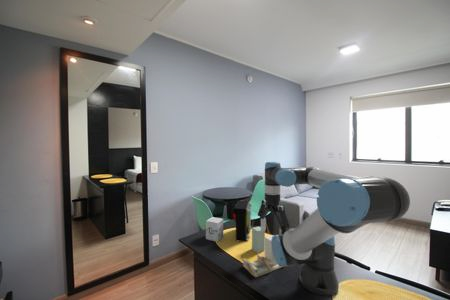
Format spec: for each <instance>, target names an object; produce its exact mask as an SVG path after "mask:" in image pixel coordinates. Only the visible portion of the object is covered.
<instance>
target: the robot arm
mask: <svg viewBox="0 0 450 300" xmlns="http://www.w3.org/2000/svg"><path fill="white" fill-rule="evenodd" d="M294 185H308V186H311V187H316V188H317V189H318V190H317V191H318V192H317V195H318V197H316V206H317V208H316V209H315V210H314V211H313V212H312V213H311V214H309V216H308V217H306V218H304V220H303V221H302V222H301V223H300V224H299V225H297V227H295V228H292V227H291V228H290V223H289V220H288V217H287V214H286V211H285V206H284V205H280V202H281V194H280V193H281V186H282V187H287V188H289V187H292V186H294ZM410 206H411V198H410V194H409V191H407V189H406V187H404V185H402V183H400V182H399V181H396V180H395V179H392V178H390V177H384V176H372V175H366V176H364V177H360V176H356V175H349V174H344V173H339V172H334V171H328V170H324V169H323V170H322V169H320V168H319V167H314V166H312V167H311V166H309V167H281V163H280V161H279V162H278V161H266V162H264V199H263V200H261V203H260V207H259V210H258V212H257V217H259V218H260V219H259V220H260V221H259V222H260V227H261V231H265V232H267V231H266V230H267V229H266V227H267V219H266V217H267V215H268V213H269V212H270V213H272V214H273V215H274V216H275V218H276V220H277V221H278V224H279V226H280V227H279V234H273V237H272V240H271V244H272V251H273V255H274V258H275V260H276V262H277V264H278V265H279V266H284V267H286V268H287V267H291V266H297V265H299V266H300V265H302V267H301V270H300V272H299V282H300V283H301V285H302V287H303V288H305V289H306V290H307V291H309V292H311V293H313V294H315V295H319V296H323V297H324V296H325V297H329V296H334V295H333V294H335V293H336V294H337V293H338V292H339V290H338V289H339V288H340V287H339V285H340V283H339V280H338V277H337V275H336V270H335V256H336V255H335V253H336V251H335V250H336V244H335V243H336V242H335V241H336V240H335V236H336V235H337V234H339V233H340V234H351V233H353V232H355V231H357V230H358V229H360V228H362V227H364V226H366V225H368V224H374V223H375V224H376V223H384V222H394V221H397V220H398V219H401V218H402V217H403V216H405V215H406V214H407V212H408V211H409V208H410ZM336 294H335V295H336Z"/></svg>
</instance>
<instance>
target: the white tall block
mask: <svg viewBox="0 0 450 300" xmlns="http://www.w3.org/2000/svg"><path fill="white" fill-rule="evenodd" d="M273 236H274V234H273V235H271V234H270V235H267V236H265V250H264V257H265V258H266V259H267V260H269V261H270V262H271V263H273V265H275V264H277V262H276V260H275V258H274V255H273V251H272V244H271V240H272V237H273Z"/></svg>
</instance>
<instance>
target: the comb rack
mask: <svg viewBox="0 0 450 300" xmlns="http://www.w3.org/2000/svg"><path fill="white" fill-rule="evenodd" d="M256 256H257V257H256V258H257V259H256V260H253V261H249V260H248V259H247V258H243V259H242V267H244V268H245V269H246V271H248V272H249V274H251V275H252V276H253V277H255V278H260V277H262V276H263V275H265V274H268V273H271V272H273V271H274V272H275V271H276V270H279V269H281V268H284V267H285V266H279V265H278V264H275V265H273V263H271V262H270V261H269V260H267V259H266V258H265V256H264V255H262V254H260V253H257V255H256Z"/></svg>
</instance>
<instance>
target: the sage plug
mask: <svg viewBox="0 0 450 300" xmlns="http://www.w3.org/2000/svg"><path fill="white" fill-rule="evenodd" d="M265 232H266V231H261V225H260V226H254V227H251V249H252V250H253V251H254V252H255V253H257V254H259V253H261V252H265V237H266V235H265Z"/></svg>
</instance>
